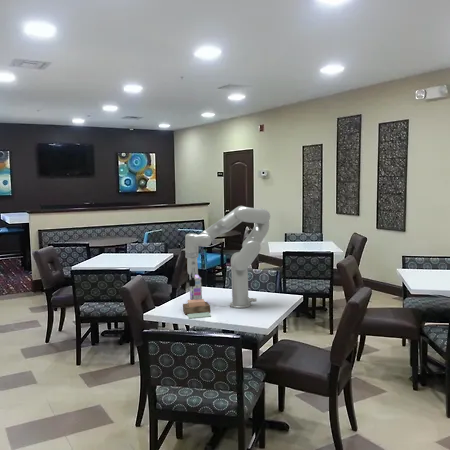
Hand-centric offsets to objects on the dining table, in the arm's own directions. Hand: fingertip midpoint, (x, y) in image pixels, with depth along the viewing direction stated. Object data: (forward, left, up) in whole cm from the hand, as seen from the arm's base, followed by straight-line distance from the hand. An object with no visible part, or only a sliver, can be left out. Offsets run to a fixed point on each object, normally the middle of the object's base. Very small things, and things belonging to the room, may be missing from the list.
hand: (192, 286), depth 273 cm
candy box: (-4, -11, -13) cm, 18 cm away
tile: (-1, +9, -8) cm, 12 cm away
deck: (-1, +8, -13) cm, 15 cm away
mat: (-1, +17, -13) cm, 21 cm away
